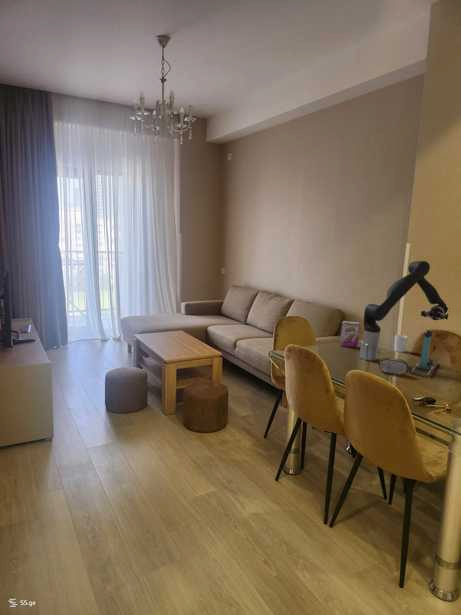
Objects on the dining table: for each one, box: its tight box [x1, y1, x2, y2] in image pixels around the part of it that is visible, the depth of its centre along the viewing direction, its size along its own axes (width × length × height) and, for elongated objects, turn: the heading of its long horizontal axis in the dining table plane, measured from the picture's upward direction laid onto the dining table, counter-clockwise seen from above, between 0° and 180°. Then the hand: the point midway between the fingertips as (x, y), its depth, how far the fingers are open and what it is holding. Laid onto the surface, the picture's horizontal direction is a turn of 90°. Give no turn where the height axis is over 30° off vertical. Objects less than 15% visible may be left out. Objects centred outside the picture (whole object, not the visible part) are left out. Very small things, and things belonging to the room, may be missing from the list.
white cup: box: [393, 334, 409, 353], centre depth 282 cm, size 8×8×10 cm
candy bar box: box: [339, 320, 361, 349], centre depth 285 cm, size 11×5×16 cm, turn 77°
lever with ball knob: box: [417, 329, 434, 371], centre depth 240 cm, size 12×6×22 cm, turn 148°
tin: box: [378, 357, 409, 376], centre depth 232 cm, size 15×3×8 cm, turn 71°
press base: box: [409, 357, 439, 379], centre depth 245 cm, size 32×10×5 cm, turn 148°
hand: (433, 316), depth 244 cm, fingers open, 8 cm apart
